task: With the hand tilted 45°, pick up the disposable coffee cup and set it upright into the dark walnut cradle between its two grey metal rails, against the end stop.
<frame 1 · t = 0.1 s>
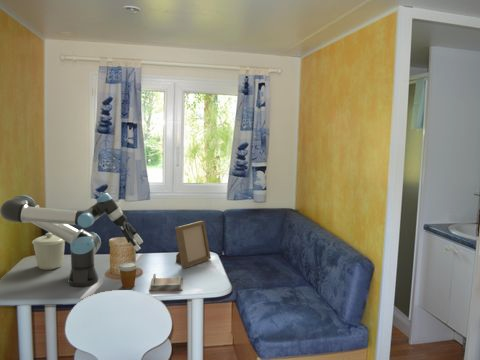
hand: (140, 246, 229), 15 cm above the table, tool tilted 35°, fingers open, 13 cm apart
photo frame: (190, 262, 249), on the table
canister: (50, 267, 235), on the table
disposable coffee cup: (128, 286, 210), on the table
rail cradle: (166, 285, 212), on the table
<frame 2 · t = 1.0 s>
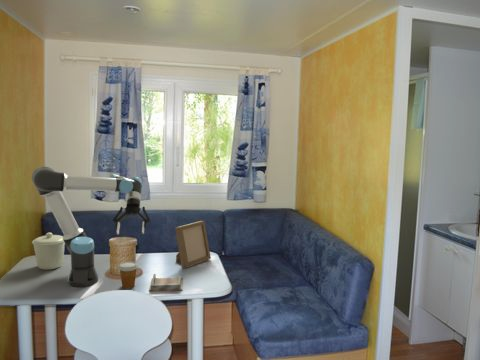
hand: (130, 233, 217), 26 cm above the table, tool tilted 45°, fingers open, 13 cm apart
nothing on the table moved.
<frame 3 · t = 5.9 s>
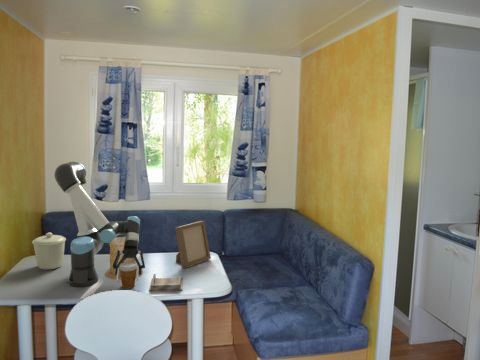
hand: (127, 280, 206), 4 cm above the table, tool tilted 45°, fingers closed on disposable coffee cup, 9 cm apart
disposable coffee cup: (128, 286, 210), on the table, touching gripper
everything else where it was.
when the fingers open (7 cm above the table, at t = 11.4 s): disposable coffee cup drops 1 cm, resting on rail cradle.
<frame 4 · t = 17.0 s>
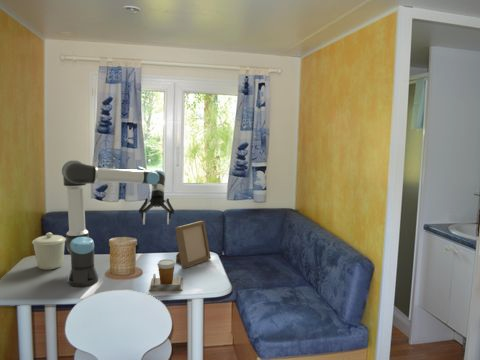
hand: (155, 223, 225), 30 cm above the table, tool tilted 45°, fingers open, 13 cm apart
disposable coffee cup: (166, 283, 213), point 1 cm above the table, touching rail cradle
everything else where it was.
at the end: disposable coffee cup 0.3 cm off-centre on the rail cradle, point 0.6 cm above the rail cradle's base; disposable coffee cup tilted 0°; the gripper is holding nothing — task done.
